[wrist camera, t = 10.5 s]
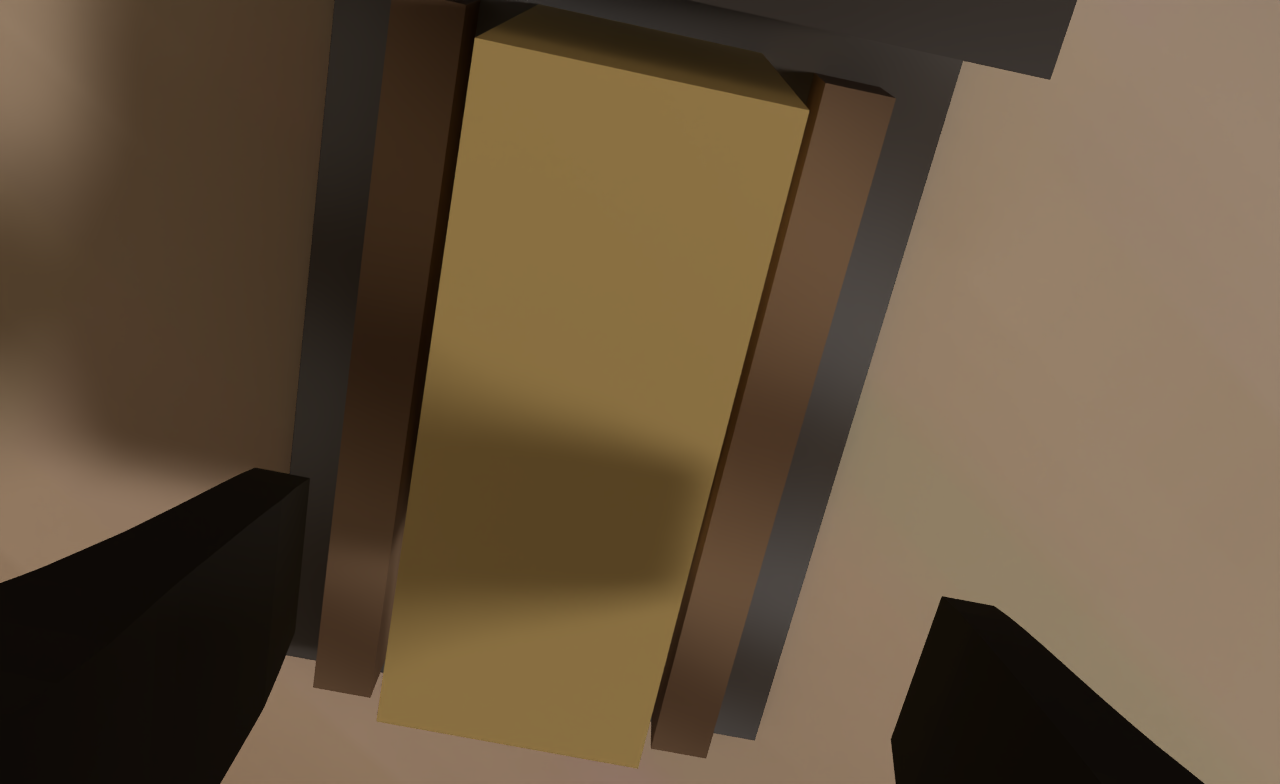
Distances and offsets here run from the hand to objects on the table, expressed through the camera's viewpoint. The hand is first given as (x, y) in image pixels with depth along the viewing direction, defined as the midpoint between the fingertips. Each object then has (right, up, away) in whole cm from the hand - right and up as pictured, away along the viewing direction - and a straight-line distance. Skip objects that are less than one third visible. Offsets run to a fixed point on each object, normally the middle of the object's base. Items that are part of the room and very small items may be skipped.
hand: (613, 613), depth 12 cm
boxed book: (-1, +4, +9) cm, 10 cm away
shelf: (-1, +3, +10) cm, 10 cm away
